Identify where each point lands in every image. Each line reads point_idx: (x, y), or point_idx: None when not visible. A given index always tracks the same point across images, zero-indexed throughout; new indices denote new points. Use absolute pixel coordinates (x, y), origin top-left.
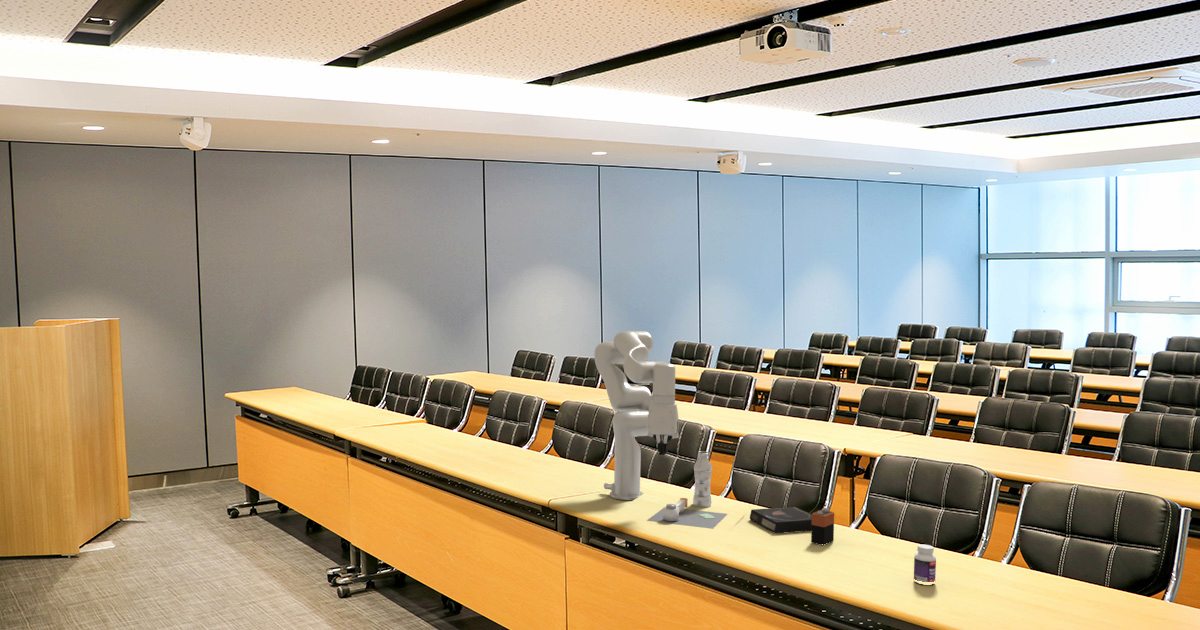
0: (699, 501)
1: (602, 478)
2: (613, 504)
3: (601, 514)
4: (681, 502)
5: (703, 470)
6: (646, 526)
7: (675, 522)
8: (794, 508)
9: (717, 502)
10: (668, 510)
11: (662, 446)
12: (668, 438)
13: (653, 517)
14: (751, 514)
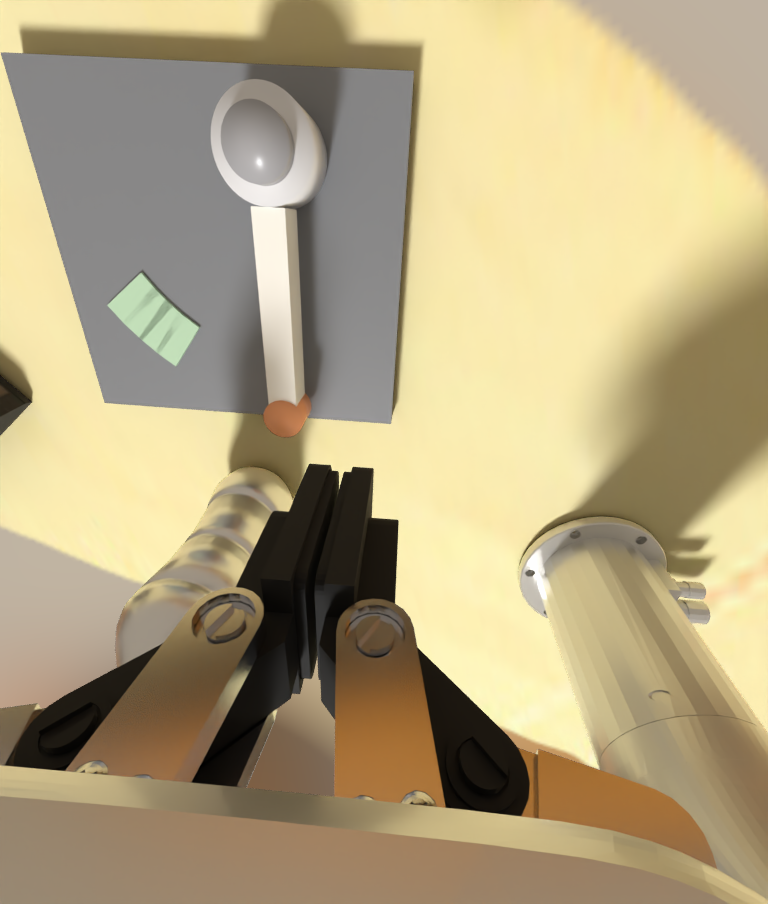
0: (245, 480)
1: None
2: (639, 445)
3: (703, 229)
4: (266, 343)
5: (153, 587)
6: (407, 45)
7: None
8: None
9: None
10: (261, 81)
11: (299, 539)
12: (125, 704)
13: (392, 177)
14: (2, 404)
